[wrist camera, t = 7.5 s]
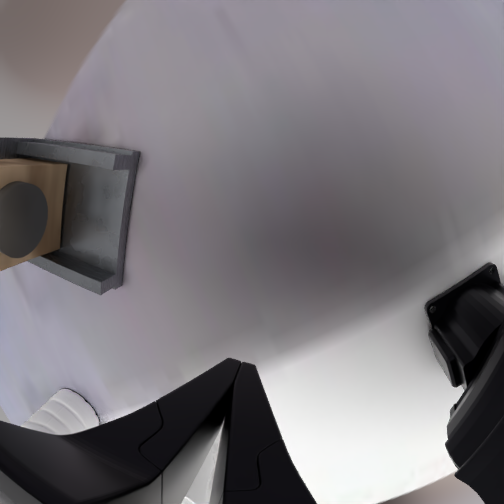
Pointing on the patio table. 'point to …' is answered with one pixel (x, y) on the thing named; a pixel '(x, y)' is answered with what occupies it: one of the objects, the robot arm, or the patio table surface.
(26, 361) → the patio table surface
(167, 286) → the patio table surface
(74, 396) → the water bottle
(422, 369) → the patio table surface
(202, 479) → the white cup
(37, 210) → the tan box
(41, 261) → the grey open holder
